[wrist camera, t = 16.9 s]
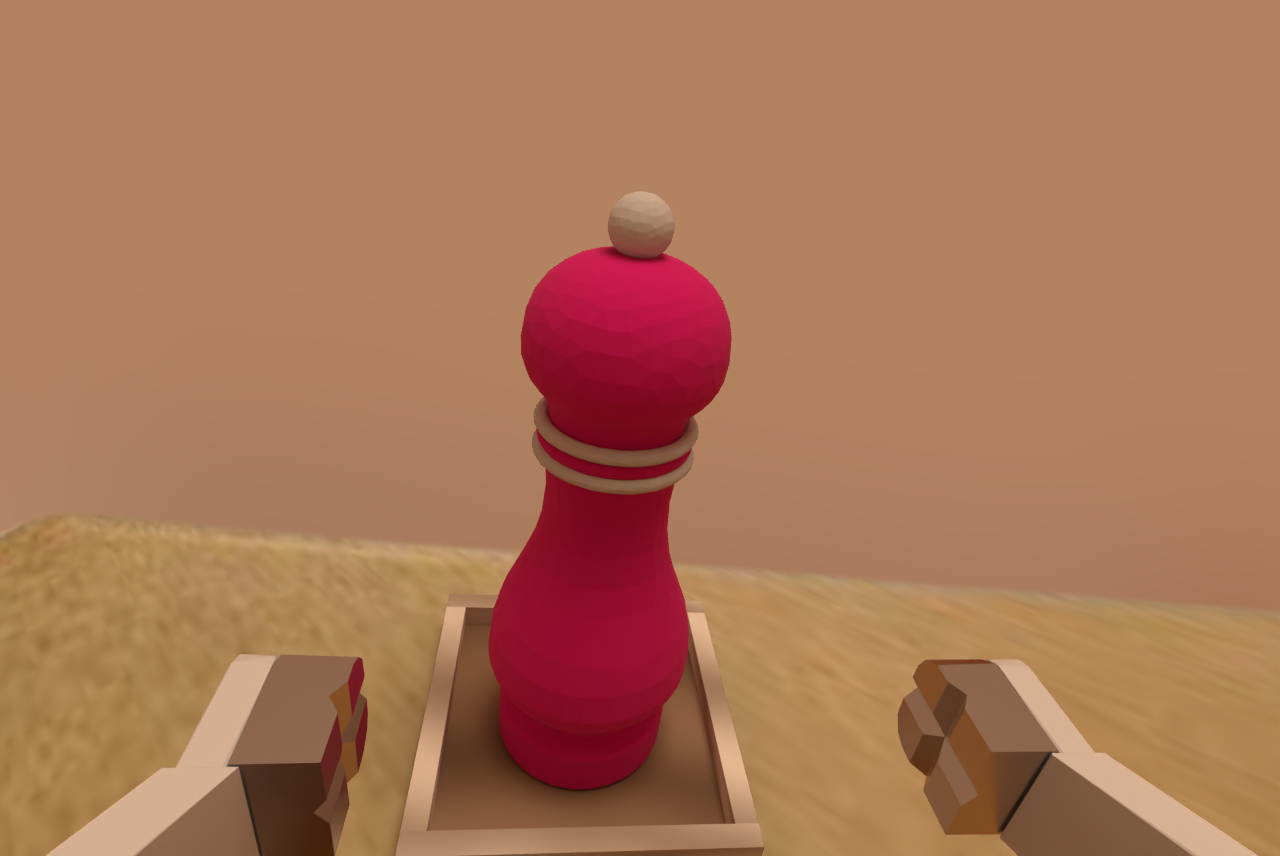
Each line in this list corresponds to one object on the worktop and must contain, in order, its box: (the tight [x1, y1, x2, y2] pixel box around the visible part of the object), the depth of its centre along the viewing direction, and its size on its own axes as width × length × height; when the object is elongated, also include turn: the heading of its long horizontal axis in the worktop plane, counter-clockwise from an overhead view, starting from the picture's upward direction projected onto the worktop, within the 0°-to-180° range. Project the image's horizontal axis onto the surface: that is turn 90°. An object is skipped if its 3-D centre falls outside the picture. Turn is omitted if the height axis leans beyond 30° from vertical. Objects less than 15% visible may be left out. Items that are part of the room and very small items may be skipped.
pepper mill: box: [488, 192, 731, 790], centre depth 22 cm, size 7×7×20 cm
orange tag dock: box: [395, 594, 764, 856], centre depth 25 cm, size 17×12×2 cm
